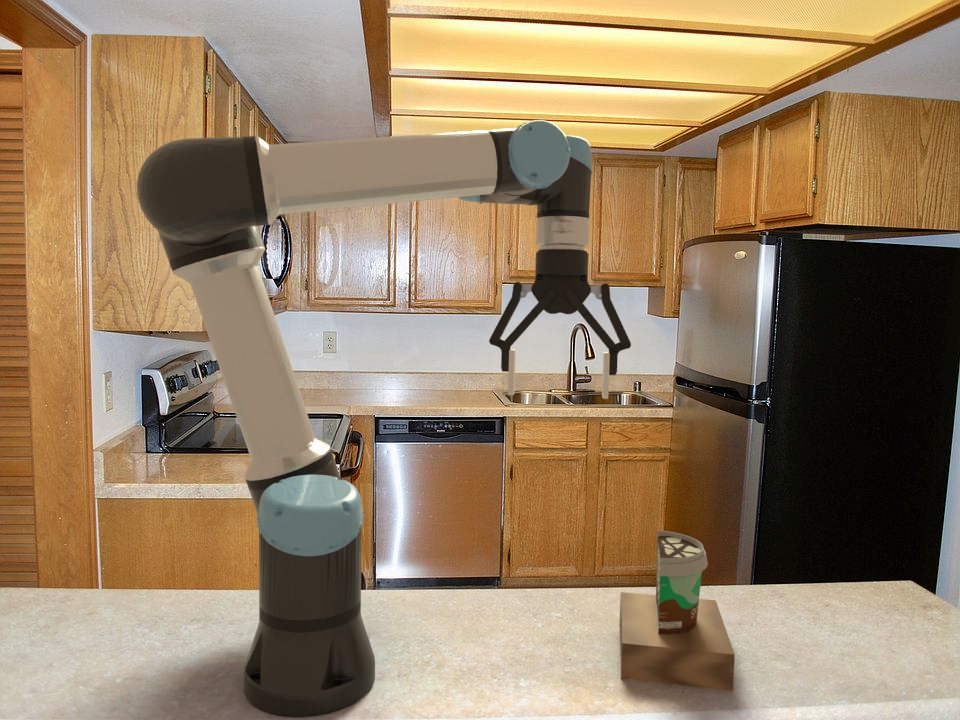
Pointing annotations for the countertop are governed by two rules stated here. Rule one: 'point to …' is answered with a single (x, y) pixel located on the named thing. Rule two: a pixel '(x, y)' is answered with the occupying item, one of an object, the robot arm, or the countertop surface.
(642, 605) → the walnut block
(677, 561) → the food container
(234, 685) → the countertop surface
